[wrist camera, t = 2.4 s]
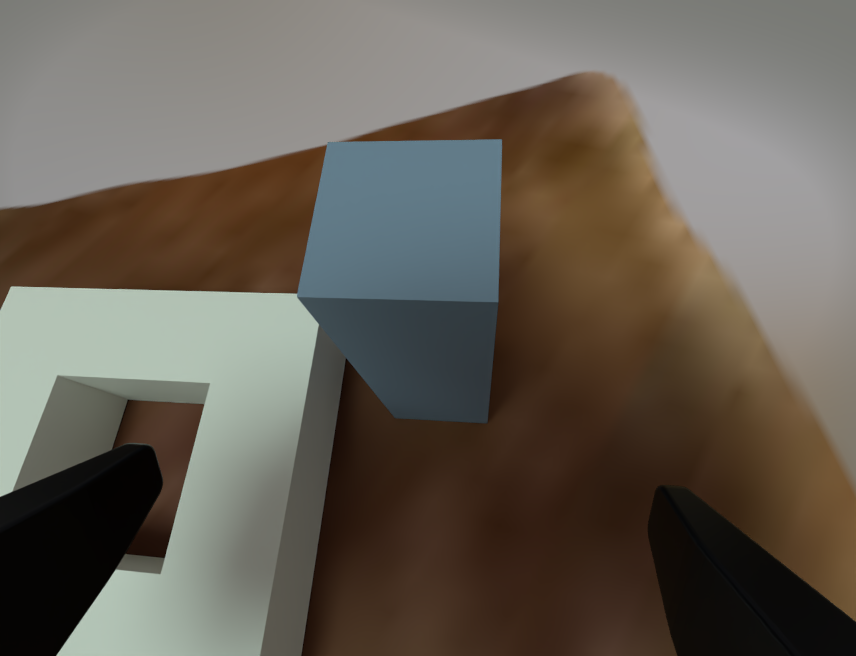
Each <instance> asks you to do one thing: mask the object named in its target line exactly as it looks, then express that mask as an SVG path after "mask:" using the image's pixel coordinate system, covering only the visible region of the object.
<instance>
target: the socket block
mask: <svg viewBox="0 0 856 656" xmlns="http://www.w3.org/2000/svg"><path fill="white" fill-rule="evenodd" d="M345 361H346V357H345V356H344V355H343V353H342V352H341V351H340V350H339V348H338V347H337V346H336V345H335V344H334V342H333V341H332V340H331V339H330V337H329V336H328V335H327V334H326V332H325V331H324V330H323V329H322V328H321V326H320V325H319V324H318V323H317V321H316V320H315V319H314V318H313V316H312V315H311V314H310V313H309V312H308V310H307V309H306V308H305V307H304V305H303V304H302V303H301V302H300V300H299V299H298V298H297V294H283V293H243V292H203V291H164V290H124V289H84V288H45V287H11V288H10V291H9V293H8V295H7V297H6V299H5V301H4V304H3V306H2V308H1V310H0V497H1V496H3V495H6V494H8V493H10V492H13V491H15V490H17V489H20V488H22V487H25V486H27V485H29V484H32V483H34V482H36V481H39V480H41V479H44V478H46V477H48V476H51V475H53V474H55V473H58V472H60V471H63V470H65V469H67V468H70V467H72V466H74V465H77V464H79V463H82V462H84V461H86V460H89V459H91V458H93V457H96V456H98V455H101V454H103V453H105V452H108V451H110V450H112V447H113V444H114V441H115V438H116V435H117V432H118V429H119V426H120V422H121V419H122V416H123V413H124V410H125V407H126V404H127V401H128V400H142V401H160V402H178V403H195V404H205V405H204V409H203V413H202V417H201V421H200V424H199V428H198V432H197V436H196V440H195V444H194V448H193V451H192V455H191V459H190V463H189V467H188V471H187V475H186V479H185V482H184V486H183V490H182V494H181V498H180V502H179V506H178V509H177V513H176V517H175V521H174V525H173V529H172V533H171V536H170V540H169V544H168V548H167V552H166V556H165V558H159V557H149V556H139V555H129V554H125V555H124V557H123V559H122V560H121V562H120V564H119V565H118V567H117V569H116V570H115V572H114V573H113V575H112V576H111V578H110V579H109V581H108V582H107V584H106V585H105V587H104V588H103V589H102V591H101V592H100V594H99V595H98V597H97V598H96V600H95V601H94V602H93V604H92V605H91V607H90V608H89V610H88V611H87V612H86V614H85V615H84V617H83V618H82V620H81V621H80V623H79V624H78V625H77V627H76V628H75V630H74V631H73V633H72V634H71V636H70V637H69V638H68V640H67V641H66V643H65V644H64V646H63V647H62V649H61V650H60V651H59V653H58V654H57V656H301V654H302V648H303V641H304V634H305V628H306V621H307V614H308V608H309V601H310V594H311V588H312V581H313V574H314V568H315V561H316V554H317V548H318V541H319V534H320V528H321V521H322V514H323V507H324V501H325V494H326V487H327V481H328V474H329V467H330V461H331V454H332V447H333V441H334V434H335V427H336V421H337V414H338V407H339V401H340V394H341V387H342V381H343V374H344V367H345Z"/></svg>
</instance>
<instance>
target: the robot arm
mask: <svg viewBox="0 0 856 656" xmlns="http://www.w3.org/2000/svg"><path fill="white" fill-rule="evenodd" d="M162 486H163V477H162V474H161V470H160V467H159V463H158V460H157V456H156V453H155V450H154V448H153V447H152V446H151V445H148V444H139V443H127V444H124V445H122V446H120V447H117V448H115V449H112V450H110V451H108V452H105V453H103V454H101V455H98V456H96V457H93V458H91V459H89V460H86V461H84V462H82V463H79V464H77V465H74V466H72V467H70V468H67V469H65V470H63V471H60V472H58V473H55V474H53V475H51V476H48V477H46V478H44V479H41V480H39V481H36V482H34V483H32V484H29V485H27V486H25V487H22V488H20V489H17V490H15V491H13V492H10V493H8V494H6V495H3V496H1V497H0V656H57V654H58V653H59V651H60V650H61V649H62V647H63V646H64V644H65V643H66V641H67V640H68V638H69V637H70V636H71V634H72V633H73V631H74V630H75V628H76V627H77V625H78V624H79V623H80V621H81V620H82V618H83V617H84V615H85V614H86V612H87V611H88V610H89V608H90V607H91V605H92V604H93V602H94V601H95V600H96V598H97V597H98V595H99V594H100V592H101V591H102V589H103V588H104V587H105V585H106V584H107V582H108V581H109V579H110V578H111V576H112V575H113V573H114V572H115V570H116V569H117V567H118V565H119V564H120V562H121V560H122V559H123V557H124V555H125V553H126V552H127V550H128V548H129V547H130V545H131V543H132V541H133V540H134V538H135V536H136V534H137V533H138V531H139V529H140V527H141V526H142V524H143V522H144V520H145V519H146V517H147V515H148V513H149V512H150V510H151V508H152V506H153V505H154V503H155V501H156V499H157V498H158V496H159V494H160V492H161V490H162ZM648 537H649V542H650V546H651V551H652V555H653V560H654V564H655V569H656V573H657V577H658V582H659V586H660V591H661V595H662V600H663V604H664V609H665V613H666V618H667V622H668V626H669V630H670V634H671V637H672V640H673V644H674V647H675V650H676V653H677V656H856V622H855V621H854V620H853V619H852V618H850V617H849V616H848V615H847V614H845V613H844V612H843V611H842V610H840V609H839V608H838V607H836V606H835V605H834V604H833V603H831V602H830V601H829V600H828V599H826V598H825V597H824V596H823V595H821V594H820V593H819V592H818V591H816V590H815V589H814V588H813V587H811V586H810V585H809V584H807V583H806V582H805V581H804V580H802V579H801V578H800V577H799V576H797V575H796V574H795V573H794V572H792V571H791V570H790V569H789V568H787V567H786V566H785V565H784V564H782V563H781V562H780V561H779V560H777V559H776V558H775V557H773V556H772V555H771V554H770V553H768V552H767V551H766V550H765V549H763V548H762V547H761V546H760V545H758V544H757V543H756V542H755V541H753V540H752V539H751V538H750V537H748V536H747V535H746V534H744V533H743V532H742V531H741V530H739V529H738V528H737V527H736V526H734V525H733V524H732V523H731V522H729V521H728V520H727V519H726V518H724V517H723V516H722V515H721V514H719V513H718V512H717V511H716V510H714V509H713V508H712V507H710V506H709V505H708V504H707V503H705V502H704V501H703V500H702V499H700V498H699V497H698V496H697V495H695V494H694V493H693V492H692V491H690V490H689V489H687V488H686V487H682V486H671V485H660V486H658V487H657V489H656V491H655V494H654V499H653V503H652V508H651V512H650V516H649V521H648Z"/></svg>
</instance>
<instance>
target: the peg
mask: <svg viewBox="0 0 856 656" xmlns="http://www.w3.org/2000/svg"><path fill="white" fill-rule="evenodd" d="M501 159H502V140H439V141H375V142H328V144H327V149H326V154H325V159H324V164H323V169H322V174H321V179H320V184H319V189H318V194H317V199H316V204H315V209H314V214H313V219H312V224H311V229H310V234H309V239H308V244H307V249H306V254H305V259H304V263H303V268H302V273H301V278H300V283H299V288H298V293H297V298H298V299H299V300H300V302H301V303H302V304H303V305H304V307H305V308H306V309H307V310H308V312H309V313H310V314H311V315H312V316H313V318H314V319H315V320H316V321H317V323H318V324H319V325H320V326H321V328H322V329H323V330H324V331H325V332H326V334H327V335H328V336H329V337H330V339H331V340H332V341H333V342H334V344H335V345H336V346H337V347H338V348H339V350H340V351H341V352H342V353H343V355H344V356H345V357H346V358H347V360H348V361H349V362H350V363H351V364H352V366H353V367H354V368H355V369H356V371H357V372H358V373H359V374H360V376H361V377H362V378H363V379H364V380H365V382H366V383H367V384H368V385H369V387H370V388H371V389H372V390H373V392H374V393H375V394H376V395H377V396H378V398H379V399H380V400H381V401H382V403H383V404H384V405H385V406H386V408H387V409H388V410H389V411H390V412H391V414H392V415H393V416H394V417H395V418H401V419H419V420H436V421H454V422H471V423H487V422H488V411H489V400H490V389H491V378H492V367H493V356H494V345H495V334H496V323H497V312H498V295H499V250H500V204H501Z"/></svg>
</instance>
